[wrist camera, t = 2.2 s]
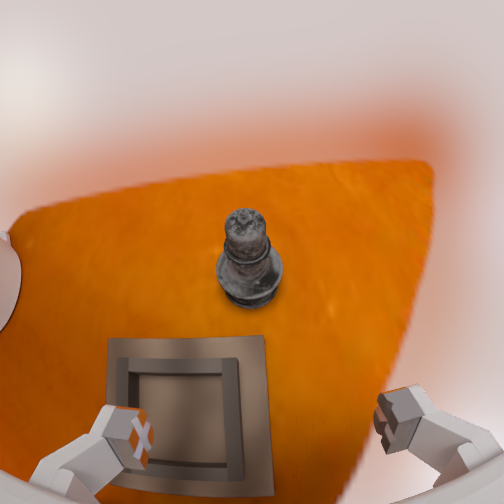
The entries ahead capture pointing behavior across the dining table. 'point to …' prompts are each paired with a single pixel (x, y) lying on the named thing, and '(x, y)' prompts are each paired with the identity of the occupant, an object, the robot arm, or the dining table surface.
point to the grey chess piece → (248, 261)
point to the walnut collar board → (197, 414)
